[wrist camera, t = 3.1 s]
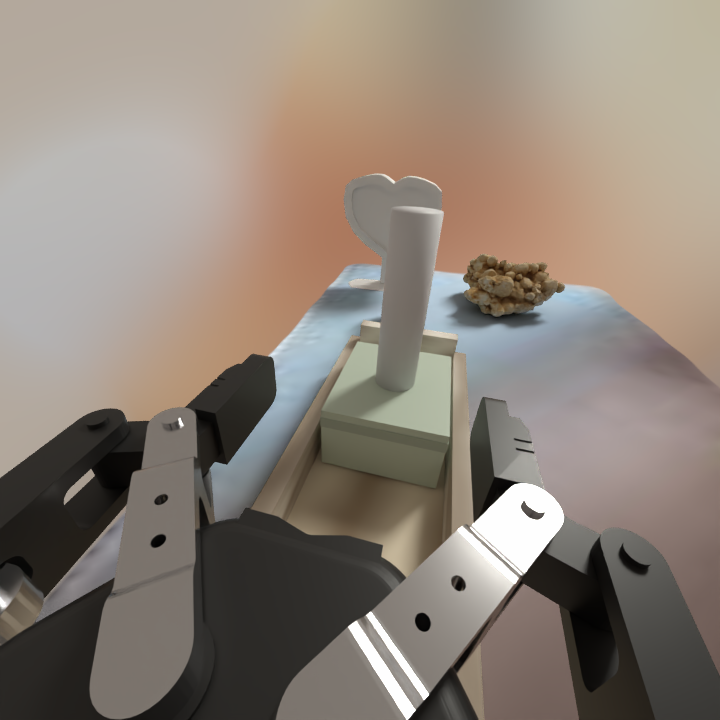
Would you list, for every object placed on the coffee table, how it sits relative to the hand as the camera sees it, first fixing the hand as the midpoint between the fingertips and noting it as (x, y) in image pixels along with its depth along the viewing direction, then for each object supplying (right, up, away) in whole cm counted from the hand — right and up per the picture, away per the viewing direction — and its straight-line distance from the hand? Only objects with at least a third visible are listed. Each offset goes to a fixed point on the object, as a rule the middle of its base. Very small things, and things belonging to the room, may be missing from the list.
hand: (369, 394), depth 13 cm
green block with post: (+2, -4, +16) cm, 16 cm away
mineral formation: (+24, +10, +43) cm, 50 cm away
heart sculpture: (+4, +15, +49) cm, 51 cm away
